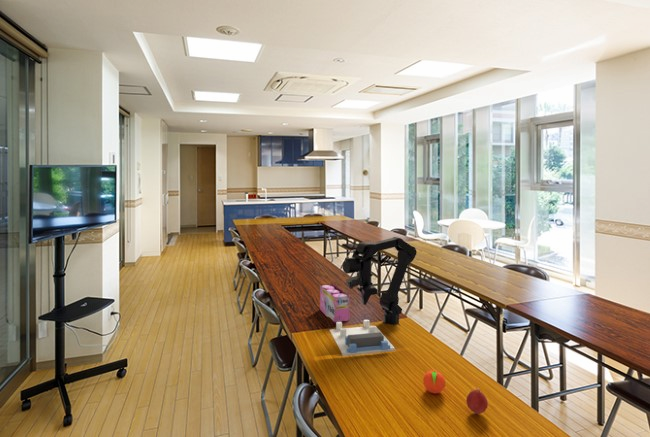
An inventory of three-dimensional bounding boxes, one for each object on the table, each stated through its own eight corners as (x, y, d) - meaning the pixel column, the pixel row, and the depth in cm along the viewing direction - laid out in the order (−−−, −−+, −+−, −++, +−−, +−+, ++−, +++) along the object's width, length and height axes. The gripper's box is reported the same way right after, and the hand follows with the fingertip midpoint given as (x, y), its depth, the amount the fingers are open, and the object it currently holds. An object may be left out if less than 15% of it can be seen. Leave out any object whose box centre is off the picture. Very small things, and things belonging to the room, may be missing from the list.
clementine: (445, 401, 120) (446, 379, 119) (422, 397, 122) (423, 376, 121) (444, 387, 128) (445, 367, 127) (423, 384, 129) (423, 364, 129)
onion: (463, 414, 113) (464, 389, 112) (469, 405, 117) (470, 381, 117) (483, 422, 109) (485, 396, 109) (489, 412, 114) (490, 387, 113)
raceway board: (375, 327, 179) (375, 319, 178) (395, 351, 154) (395, 341, 154) (329, 331, 174) (329, 322, 174) (342, 356, 150) (342, 346, 149)
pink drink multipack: (318, 308, 205) (318, 284, 203) (332, 307, 207) (332, 282, 206) (334, 325, 182) (334, 297, 181) (350, 322, 185) (350, 295, 184)
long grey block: (380, 342, 160) (380, 332, 159) (383, 346, 156) (383, 336, 155) (347, 345, 157) (347, 335, 156) (350, 350, 153) (350, 339, 153)
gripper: (342, 266, 179) (342, 299, 181) (353, 277, 161) (353, 312, 163) (365, 265, 182) (365, 297, 183) (378, 275, 163) (378, 311, 165)
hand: (364, 304), depth 174 cm, fingers closed
